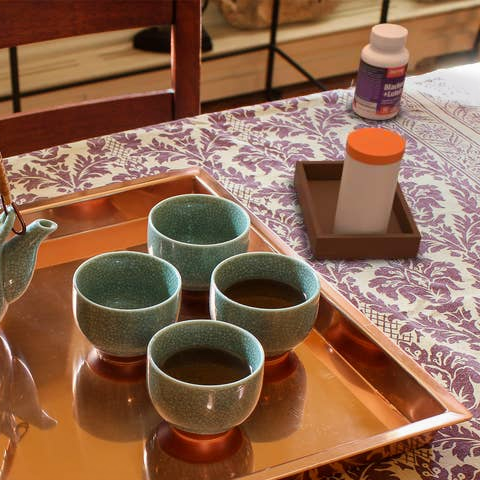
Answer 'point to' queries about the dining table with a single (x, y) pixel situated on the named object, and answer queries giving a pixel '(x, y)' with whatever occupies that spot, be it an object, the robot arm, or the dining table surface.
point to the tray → (324, 210)
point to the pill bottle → (382, 73)
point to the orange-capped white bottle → (368, 181)
